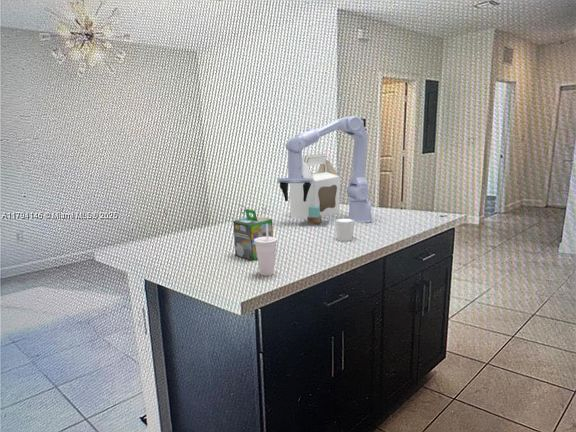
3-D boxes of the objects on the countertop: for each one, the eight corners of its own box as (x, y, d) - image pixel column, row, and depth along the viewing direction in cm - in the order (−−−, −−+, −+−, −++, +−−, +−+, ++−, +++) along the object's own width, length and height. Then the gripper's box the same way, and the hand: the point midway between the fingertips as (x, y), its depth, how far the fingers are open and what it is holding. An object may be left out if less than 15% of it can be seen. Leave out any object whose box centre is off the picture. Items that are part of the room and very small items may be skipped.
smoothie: (272, 278, 108) (271, 227, 105) (251, 275, 110) (248, 225, 107) (281, 270, 114) (280, 221, 111) (261, 268, 116) (259, 220, 113)
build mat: (329, 221, 174) (329, 221, 174) (325, 227, 164) (325, 226, 164) (304, 221, 177) (304, 220, 177) (298, 226, 166) (298, 225, 166)
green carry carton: (274, 254, 129) (273, 208, 126) (252, 261, 123) (250, 213, 120) (256, 249, 136) (254, 205, 133) (234, 255, 129) (231, 209, 127)
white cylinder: (331, 238, 147) (331, 219, 146) (347, 235, 150) (347, 217, 149) (342, 242, 141) (342, 223, 140) (358, 240, 144) (358, 220, 143)
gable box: (314, 221, 176) (314, 156, 171) (290, 218, 184) (288, 155, 179) (339, 212, 194) (340, 153, 188) (316, 210, 202) (315, 153, 196)
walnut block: (321, 222, 172) (321, 215, 171) (319, 224, 167) (319, 217, 167) (309, 221, 173) (309, 215, 173) (307, 224, 168) (307, 217, 168)
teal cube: (319, 215, 171) (319, 206, 170) (318, 217, 167) (318, 208, 166) (310, 215, 172) (310, 206, 171) (308, 217, 168) (308, 207, 167)
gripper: (275, 168, 161) (275, 202, 164) (310, 168, 158) (311, 203, 161) (279, 167, 168) (280, 199, 171) (314, 167, 165) (314, 200, 167)
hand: (295, 201), depth 166 cm, fingers open, 7 cm apart
